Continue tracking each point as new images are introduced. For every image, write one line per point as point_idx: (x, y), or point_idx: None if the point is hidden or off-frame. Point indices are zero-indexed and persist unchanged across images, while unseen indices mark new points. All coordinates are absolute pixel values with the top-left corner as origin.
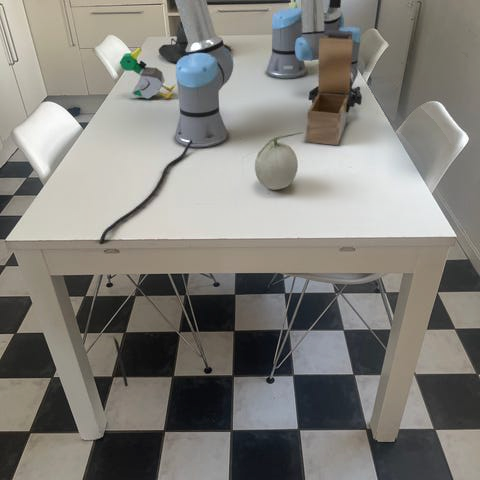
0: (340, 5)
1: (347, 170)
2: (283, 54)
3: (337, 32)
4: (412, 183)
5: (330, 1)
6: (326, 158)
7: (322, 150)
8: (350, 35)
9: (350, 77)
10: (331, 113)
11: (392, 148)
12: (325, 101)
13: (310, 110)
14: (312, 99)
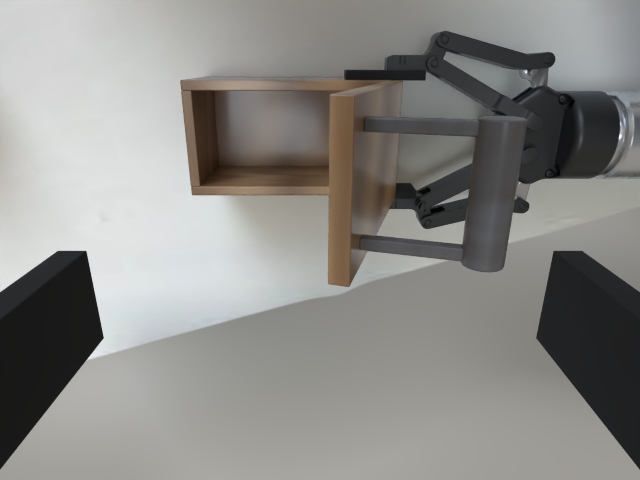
0: (90, 347)
1: (85, 214)
2: None
3: (484, 186)
4: None
5: (24, 279)
6: (128, 154)
7: (171, 135)
8: (464, 258)
9: (598, 173)
10: (190, 165)
11: (245, 299)
12: None
13: (193, 88)
14: (386, 58)
